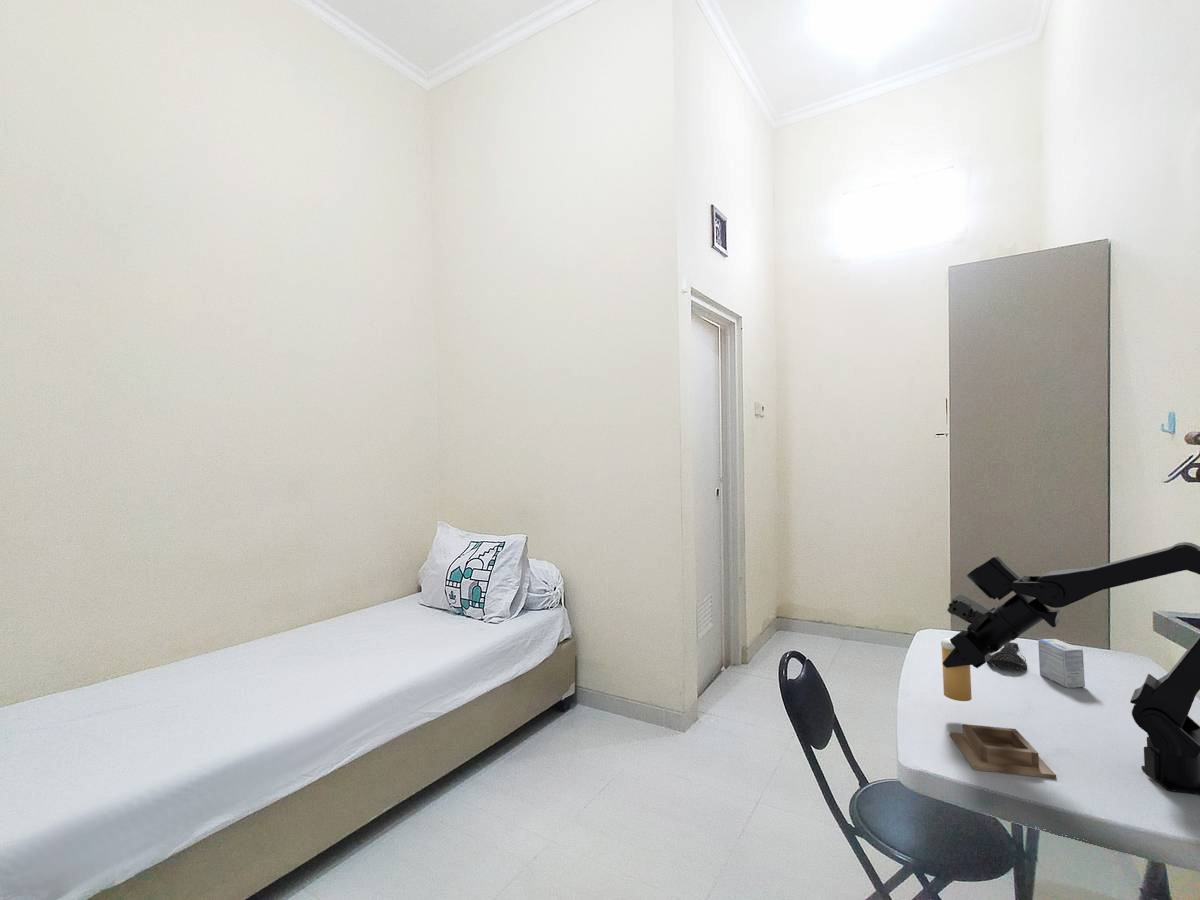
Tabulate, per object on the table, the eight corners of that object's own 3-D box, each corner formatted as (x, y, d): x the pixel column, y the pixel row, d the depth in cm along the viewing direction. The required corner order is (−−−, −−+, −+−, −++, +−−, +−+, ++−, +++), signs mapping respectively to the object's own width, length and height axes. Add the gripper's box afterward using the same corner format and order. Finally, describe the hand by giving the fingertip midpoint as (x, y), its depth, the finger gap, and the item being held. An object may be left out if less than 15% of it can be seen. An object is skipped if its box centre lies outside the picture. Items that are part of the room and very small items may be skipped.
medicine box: (1085, 688, 125) (1084, 649, 125) (1065, 688, 125) (1064, 650, 126) (1057, 674, 133) (1056, 638, 133) (1039, 674, 133) (1037, 638, 133)
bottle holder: (1022, 742, 103) (1021, 725, 103) (1056, 778, 92) (1055, 759, 92) (949, 735, 106) (949, 718, 107) (973, 769, 95) (972, 751, 95)
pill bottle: (966, 692, 115) (964, 638, 115) (976, 702, 110) (973, 646, 110) (939, 690, 116) (937, 637, 116) (947, 700, 111) (945, 645, 112)
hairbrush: (1029, 637, 152) (1025, 660, 133) (1030, 651, 152) (1026, 676, 133) (993, 632, 157) (983, 653, 138) (993, 645, 157) (984, 668, 138)
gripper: (988, 576, 117) (932, 619, 125) (960, 593, 104) (900, 638, 113) (1037, 622, 111) (975, 663, 119) (1013, 644, 98) (945, 689, 107)
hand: (948, 661), depth 114 cm, fingers closed on pill bottle, 5 cm apart
